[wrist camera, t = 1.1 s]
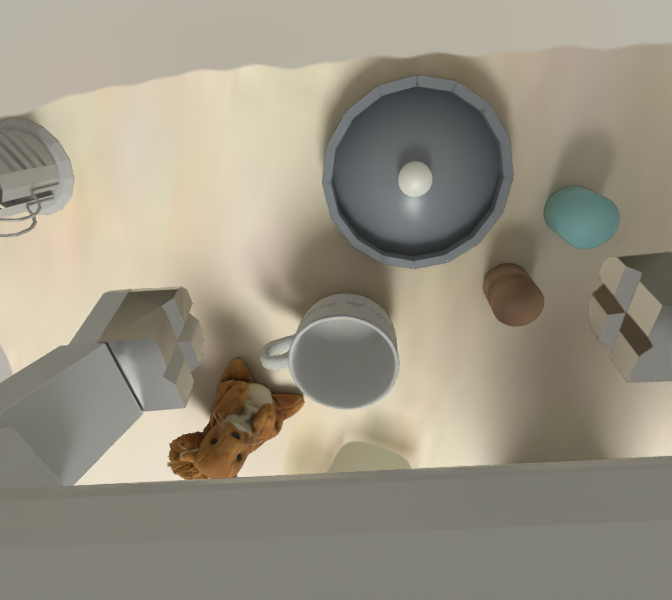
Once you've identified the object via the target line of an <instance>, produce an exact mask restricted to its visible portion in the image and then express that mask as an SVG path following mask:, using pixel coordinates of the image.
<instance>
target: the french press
mask: <svg viewBox="0 0 672 600" xmlns="http://www.w3.org/2000/svg"><path fill="white" fill-rule="evenodd" d="M73 184H74V175H73V171H72V167H71V162H70V159H69V157H68V156H67V154H66V152H65V151H64V149H63V147H62V146H61V144H60V142H59V141H58V140H57V139H56V138H55V137H54V136H52V135H51V134H50V133H49V132H48V131H47V130H46V129H45V128H44V127H42V126H40V125H37V124H35V123H33V122H31V121H28V120H26V119H6V120H4V121H2V122H0V205H2V206H4V207H5V208H4V209H1V208H0V221H3V222H17V221H24V220H27V219H30V218H32V219H33V223H32V225H31V226H30V228H28V229H25V230H23V231H21V232H18V233H16V234H0V237H14V236H19V235H22V234H24V233H27V232H29V231H31V230H32V229H33V228H34V227H35V225H36V223H37V221H36V217H35V216H36V215H50V214H52V213H55V212H57V211H59V210H61V209H63V208H64V206H65V205H66V204H67V202H68V201H69V199H70V198H71V196H72V191H73ZM25 211H26V212H29V213H30V215H29V216H26V217H23V218H19V219H2V218H5V217H9V216H12V215H16V214H19V213H22V212H25Z"/></svg>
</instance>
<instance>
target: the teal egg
mask: <svg viewBox="0 0 672 600" xmlns="http://www.w3.org/2000/svg"><path fill="white" fill-rule="evenodd" d="M544 219H545V222H546V224H547V225H548V226H549V227H550V228H551V229H552V230H553V231H554V232H556V233H557V234H558V235H559V236H560V237H562V238H563V239H564V240H565V241H566V242H568V243H569V244H570V245H572V246H574V247H576V248H580V249H590V248H595V247H598V246H600V245H602V244H603V243H605V242H606V241H608V240H609V239H610V238H611V237H612V236H613V234H614V233H615V231H616V229H617V227H618V224H619V212H618V209H617V207H616V206H615V204H614V203H613V202H612V201H610V200H609V199H607V198H605V197H603V196H600V195H598V194H596V193H594V192H592V191H590V190H587V189H585V188H583V187H580V186H567V187H564V188H561V189H559V190H558V191H556V192H555V193H554V194H553V195H552V196H551V197H550V198H549V199H548V201H547V203H546V205H545V208H544Z"/></svg>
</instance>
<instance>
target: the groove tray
mask: <svg viewBox="0 0 672 600" xmlns="http://www.w3.org/2000/svg"><path fill="white" fill-rule="evenodd" d="M513 176H514V175H513V165H512V155H511V145H510V138H509V136H508V134H507V132H506V130H505V129H504V127H503V125H502V124H501V122H500V120H499V118H498V117H497V115H496V113H495V111H494V110H493V108H492V106H491V104H490V103H488V102H487V101H485V100H484V99H482V98H481V97H480V96H478V95H477V94H475V93H474V92H472V91H471V90H469V89H468V88H466V87H465V86H464V85H462V84H461V83H459V82H457V81H453V80H446V79H440V78H434V77H427V76H421V75H415V76H412V77H408V78H405V79H401V80H397V81H394V82H390V83H387V84H383V85H379V88H378V87H376V88H375V89H373V90H372V91H371V92H370V93H368V94H367V95H366V96H365V97H363V98H362V99H361V100H360V101H358V102H357V103H356V104H355V105H353V106H352V107H351V108H350V109H349V110H347V112H346V113H345V114H344V116H343V118H342V120H341V121H340V123H339V125H338V127H337V129H336V130H335V132H334V134H333V136H332V138H331V139H330V141H329V143H328V145H327V149H326V157H325V164H324V172H323V180H322V185H323V189H324V193H325V197H326V201H327V205H328V208H329V212H330V216H331V217H332V218H331V219H332V220H333V221H334V223H335V224H336V225H337V227H338V228H339V229H340V231H341V232H342V234H343V235H344V236H345V238H346V239H347V240H348V242H349V243H350V244H351V245H352V246H353V247H355V248H356V249H358V250H359V251H361V252H363V253H364V254H366V255H368V256H369V257H371V258H372V259H374V260H376V261H377V262H379V263H380V262H381V263H382V264H387V265H393V266H399V267H404V268H410V269H413V267H414V269H417V268H422V267H428V266H433V265H438V264H443V263H448V262H450V261H451V260H453V259H455V258H456V257H458V256H460V255H461V254H463V253H465V252H466V251H468V250H469V249H471V248H473V247H474V246H476V245H478V242H479V243H480V242H481V241H482V239H483V238H484V237H485V236H486V234H487V233H488V232H489V230H490V229H491V228H492V227H493V225H494V224H495V223H496V221H497V220H498V219H499V218H500V216H501V215H502V214H501V213H503V210H504V207H505V204H506V201H507V197H508V194H509V191H510V187H511V184H512V181H513ZM447 261H448V262H447Z"/></svg>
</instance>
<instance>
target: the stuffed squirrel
mask: <svg viewBox="0 0 672 600" xmlns="http://www.w3.org/2000/svg"><path fill="white" fill-rule="evenodd" d="M303 405H304V399H303V398H302V397H301V396H300V395H295V394H272V393H271V391H270V390H269V389H268V388H266V387H265V386H263V385H261V384H258V383H254V382H253V378H252V376H251V374H250V372H249V370H248V368H247V367H246V365H245V364H244V362H243V361H242V359H239V358H235V359H234V360H233V361H232V362H231V363H230V364H229V365H228V367H227V369H226V371H225V372H224V374H223V376H222V379H221V381H220V383H219V385H218V388H217V395H216V398H215V401H214V404H213V407H212V411H211V417H210V421H209V423H208V424H207V426H206V427H205V428H204V430H203V431H204V432H199V431H198V433H197V432H195V433H192V434H191V433H189V434H185V435H184V434H183V435H182V436H181V437H178V438H177V439H175V440H173V441H172V443H170V444H169V445H170V448H171V451H169V452H170V453H169V456H168V457H170V458H169V460H170V462H171V463H169V462H168V467H169V466H170V467H171V469H172V468H173V469H172V471H173V472H174V474H177V475H179V476H181V477H182V478H184V479H186V480H197V479H208V478H210V479H217V478H237V473H238V472H239V471H240V469H241V468H242V466H243V464H244V462H245V460H246V458H247V456H248V454H250V453H252V452H253V451H254V450H256V449H257V448H259V447H260V446H261V445H262V444H263V443H264V442H265V441H267V440H269V439H271V438H273V437H275V436H276V435H278V433H279V432H280V430H281V428H282V424H283V421H284V420H285V419H287V418H289V417H291V416H293V415H294V414H295V413H296V412H298V411H299V410H300V408H301V407H302V406H303Z"/></svg>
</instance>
